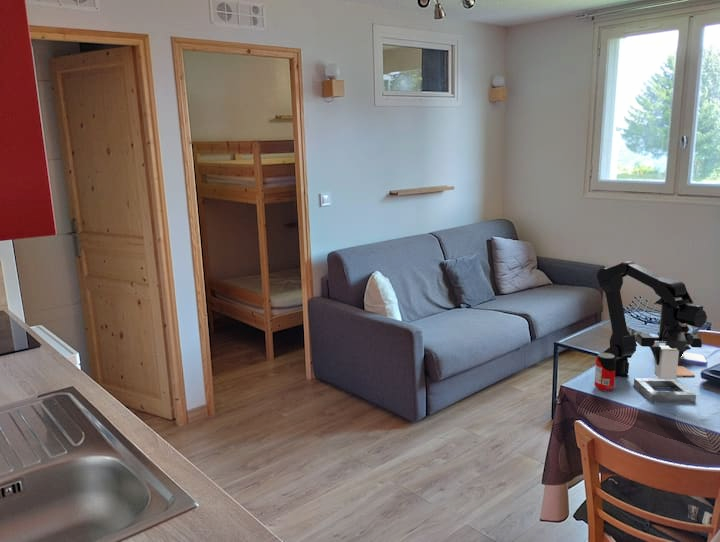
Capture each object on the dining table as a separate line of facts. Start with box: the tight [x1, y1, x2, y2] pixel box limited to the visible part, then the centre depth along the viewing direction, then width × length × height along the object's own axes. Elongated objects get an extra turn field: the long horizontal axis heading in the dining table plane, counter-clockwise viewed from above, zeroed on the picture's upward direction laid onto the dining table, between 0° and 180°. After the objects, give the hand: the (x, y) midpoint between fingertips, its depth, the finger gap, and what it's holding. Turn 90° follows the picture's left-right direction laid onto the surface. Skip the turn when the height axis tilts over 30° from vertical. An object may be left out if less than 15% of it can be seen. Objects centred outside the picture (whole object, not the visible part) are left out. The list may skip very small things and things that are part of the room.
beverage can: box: [593, 352, 616, 392], centre depth 194 cm, size 6×6×12 cm
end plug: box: [653, 344, 679, 380], centre depth 188 cm, size 5×5×10 cm
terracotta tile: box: [676, 365, 696, 378], centre depth 208 cm, size 9×9×1 cm
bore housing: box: [633, 377, 697, 403], centre depth 190 cm, size 14×14×2 cm
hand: (666, 365), depth 188 cm, fingers closed on end plug, 5 cm apart
